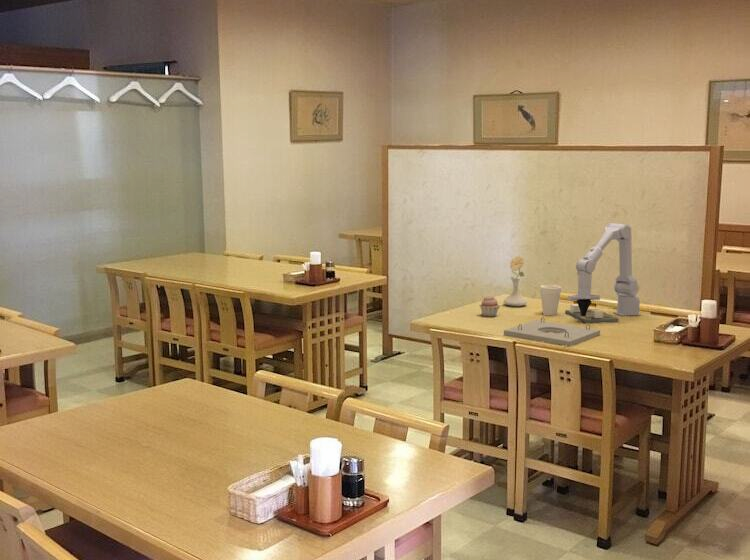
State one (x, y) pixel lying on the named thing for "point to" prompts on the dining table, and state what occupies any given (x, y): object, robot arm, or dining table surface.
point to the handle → (574, 308)
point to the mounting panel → (559, 336)
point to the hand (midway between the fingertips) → (583, 315)
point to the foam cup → (550, 299)
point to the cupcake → (489, 306)
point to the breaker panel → (590, 319)
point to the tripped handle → (596, 313)
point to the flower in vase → (516, 284)
